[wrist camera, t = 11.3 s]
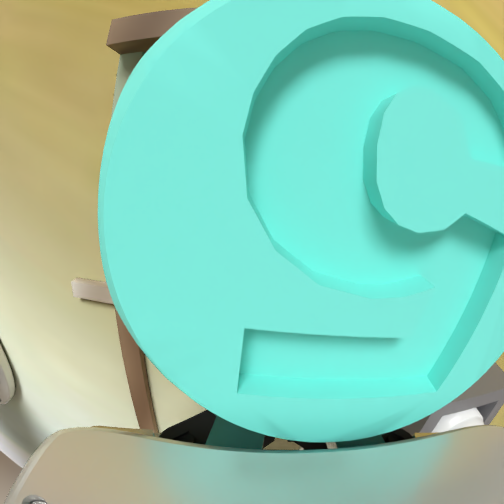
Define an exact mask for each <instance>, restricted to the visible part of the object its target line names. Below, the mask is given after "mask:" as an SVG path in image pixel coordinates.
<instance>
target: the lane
mask: <svg viewBox="0 0 504 504" xmlns="http://www.w3.org/2000/svg"><path fill="white" fill-rule="evenodd" d="M195 9H197V8H186V9H175V10H166V11H158V12H151V13H145V14H139V15H133V16H128V17H123V18H118V19H113V20H112V22H111V26H110V30H109V35H108V39H107V44H106V45H107V46H108V47H110V48H111V49H113V50H114V51H116V52H117V53H119V54H120V60H119V66H118V72H117V78H116V85H115V92H114V100H113V108H112V116H113V113H114V110H115V107H116V104H117V102H118V99H119V97H120V94H121V92H122V90H123V88H124V86H125V84H126V82H127V80H128V78H129V76H130V74H131V73H132V71H133V69H134V68H135V66H136V65H137V63H138V62H139V61H140V59H141V58H142V57H143V56H144V54H145V53H146V52H147V51H148V50H149V49H150V48H151V47H152V45H153V44H154V43H155V42H156V41H157V40H158V39H159V38H160V37H161V36H162V35H164V34H165V33H166V32H167V31H168V30H169V29H170V28H171V27H172V26H173V25H175V24H176V23H177V22H178V21H179V20H181V19H182V18H184V17H185V16H186V15H188V14H189V13H191V12H192V11H194V10H195ZM111 119H112V118H111ZM71 284H72V290H73V296H74V297H78V298H83V299H88V300H94V301H99V302H104V303H110V304H114V303H113V301H112V298H111V295H110V292H109V289H108V286H107V282H101V281H94V280H88V279H82V278H75V279H74V280H73V281H71ZM115 312H116V319H117V326H118V332H119V338H120V344H121V350H122V355H123V360H124V365H125V370H126V375H127V380H128V384H129V388H130V393H131V397H132V401H133V405H134V409H135V412H136V416H137V420H138V423H139V427H140V429H150V430H153V432H154V433H158V429H157V424H156V420H155V415H154V410H153V405H152V400H151V395H150V390H149V384H148V378H147V372H146V366H145V359H144V352H143V351H142V350H141V348H140V347H139V346H138V345H137V343H136V342H135V340H134V339H133V337H132V336H131V334H130V333H129V331H128V329H127V328H126V326H125V324H124V323H123V321H122V319H121V318H120V316H119V314H118V312H117V310H116V308H115Z"/></svg>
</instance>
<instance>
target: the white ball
mask: <svg viewBox="0 0 504 504" xmlns="http://www.w3.org/2000/svg"><path fill="white" fill-rule="evenodd" d="M476 425H484V422H483V417H482V415H481V414H480V412H479V411H478V409H477V408H472V409H469V410H465V411H461V412H457V413H453V414H449V415H445V416H442V417H441V419H440V421H439V422H438V424H437V425H436V427H435V428H434V430H433V431H432V432H431V433H436V432H445V431H449V430H454V429H458V428H463V427H469V426H476Z"/></svg>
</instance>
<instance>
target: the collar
mask: <svg viewBox="0 0 504 504" xmlns="http://www.w3.org/2000/svg"><path fill="white" fill-rule="evenodd" d="M503 404H504V372H503V371H502V369H501V368H500V367H499V366H498V365H497V364H496V363H494V364H493V365H492V366H491V367H490V368H489V369H488V370H487V372H486V373H485V374H484V375H483V376H482V377H480V378H479V379H478V380H477V381H476V382H475V383H474V384H473V385H472V386H471V387H469V388H468V389H467V390H466V391H465V392H463V393H462V394H461V395H460V396H458V397H457V398H455V399H454V400H453V401H451V402H450V403H448V404H447V405H445V406H444V407H442V408H441V409H439V410H437V411H436V412H434V413H432V414H430V415H428V416H426V417H425V418H423V419H421V420H419V421H416V422H414V423H412V424H410V425H407V426H405V427H402V428H401V429H403V430H405V431H407V432H408V433H410V435H411V436H413V434H414V433H431V432H432V431H433V430H434V428H435V427H436V425H437V424H438V422H439V421H440V419H441V417H442V416H445V415H449V414H453V413H457V412H461V411H465V410H469V409H472V408H477V409H478V411H479V412H480V414H481V415H482V417H483V422H484V425H489V424H490V423H491V421H492V420H493V418H494V417H495V415H496V414H497V413H498V411H499V410H500V408H501V407H502V405H503Z"/></svg>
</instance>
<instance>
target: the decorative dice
mask: <svg viewBox="0 0 504 504" xmlns="http://www.w3.org/2000/svg"><path fill="white" fill-rule="evenodd" d="M98 230H99V242H100V251H101V258H102V264H103V269H104V274H105V278H106V282H107V286H108V289H109V292H110V295H111V298H112V301H113V303H114V305H115V308H116V310H117V312H118V314H119V316H120V318H121V319H122V321H123V323H124V324H125V326H126V328H127V329H128V331H129V333H130V334H131V336H132V337H133V339H134V340H135V342H136V343H137V345H138V346H139V347H140V348H141V350H142V351H143V352H144V354H145V355H146V356H147V357H148V359H149V360H150V361H151V362H152V363H153V364H154V365H155V367H156V368H157V369H158V370H159V371H160V372H161V373H162V374H163V375H164V376H165V377H166V378H167V379H168V380H169V381H170V382H172V383H173V384H174V385H175V386H176V387H178V388H179V389H180V390H181V391H182V392H184V393H185V394H186V395H187V396H189V397H190V398H191V399H193V400H194V401H195V402H196V403H198V404H199V405H201V406H203V407H204V408H206V409H207V410H209V411H211V412H212V413H214V414H216V415H218V416H219V417H221V418H223V419H225V420H227V421H229V422H231V423H233V424H236V425H238V426H240V427H243V428H245V429H248V430H251V431H254V432H258V433H261V434H264V435H267V436H272V437H276V438H281V439H286V440H293V441H303V442H341V441H351V440H357V439H363V438H369V437H373V436H377V435H380V434H384V433H388V432H391V431H394V430H396V429H399V428H402V427H405V426H407V425H410V424H412V423H414V422H416V421H419V420H421V419H423V418H425V417H426V416H428V415H430V414H432V413H434V412H436V411H437V410H439V409H441V408H442V407H444V406H445V405H447V404H448V403H450V402H451V401H453V400H454V399H455V398H457V397H458V396H460V395H461V394H462V393H463V392H465V391H466V390H467V389H468V388H469V387H471V386H472V385H473V384H474V383H475V382H476V381H477V380H478V379H479V378H480V377H482V376H483V375H484V374H485V373H486V372H487V370H488V369H489V368H490V367H491V366H492V365H493V364H494V363H495V362H496V360H497V359H498V358H499V357H500V356H501V354H502V353H503V352H504V61H503V60H502V58H501V57H500V56H499V55H498V53H497V52H496V51H495V50H494V49H493V48H492V47H491V46H490V45H489V44H488V43H487V42H486V41H485V40H484V39H483V38H482V37H481V36H480V35H479V34H478V33H477V32H476V31H475V30H473V29H472V28H471V27H470V26H469V25H467V24H466V23H465V22H464V21H462V20H461V19H460V18H458V17H457V16H455V15H454V14H452V13H451V12H449V11H448V10H446V9H445V8H443V7H441V6H440V5H438V4H436V3H435V2H433V1H431V0H210V1H208V2H206V3H205V4H203V5H202V6H200V7H198V8H197V9H195V10H194V11H192V12H191V13H189V14H188V15H186V16H185V17H184V18H182V19H181V20H179V21H178V22H177V23H176V24H175V25H173V26H172V27H171V28H170V29H169V30H168V31H167V32H166V33H165V34H164V35H162V36H161V37H160V38H159V39H158V40H157V41H156V42H155V43H154V44H153V45H152V47H151V48H150V49H149V50H148V51H147V52H146V53H145V54H144V56H143V57H142V58H141V59H140V61H139V62H138V63H137V65H136V66H135V68H134V69H133V71H132V73H131V74H130V76H129V78H128V80H127V82H126V84H125V86H124V88H123V90H122V92H121V94H120V97H119V99H118V102H117V104H116V107H115V110H114V113H113V116H112V119H111V122H110V126H109V129H108V133H107V137H106V142H105V146H104V151H103V157H102V163H101V170H100V180H99V192H98Z"/></svg>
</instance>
